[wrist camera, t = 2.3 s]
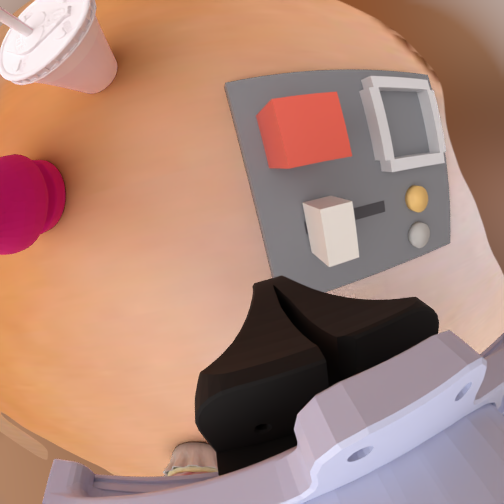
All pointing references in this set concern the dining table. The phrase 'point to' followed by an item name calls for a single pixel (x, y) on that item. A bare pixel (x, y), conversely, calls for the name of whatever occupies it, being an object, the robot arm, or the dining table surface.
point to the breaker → (331, 229)
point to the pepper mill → (28, 201)
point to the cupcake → (192, 460)
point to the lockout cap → (303, 130)
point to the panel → (351, 172)
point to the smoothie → (57, 46)
